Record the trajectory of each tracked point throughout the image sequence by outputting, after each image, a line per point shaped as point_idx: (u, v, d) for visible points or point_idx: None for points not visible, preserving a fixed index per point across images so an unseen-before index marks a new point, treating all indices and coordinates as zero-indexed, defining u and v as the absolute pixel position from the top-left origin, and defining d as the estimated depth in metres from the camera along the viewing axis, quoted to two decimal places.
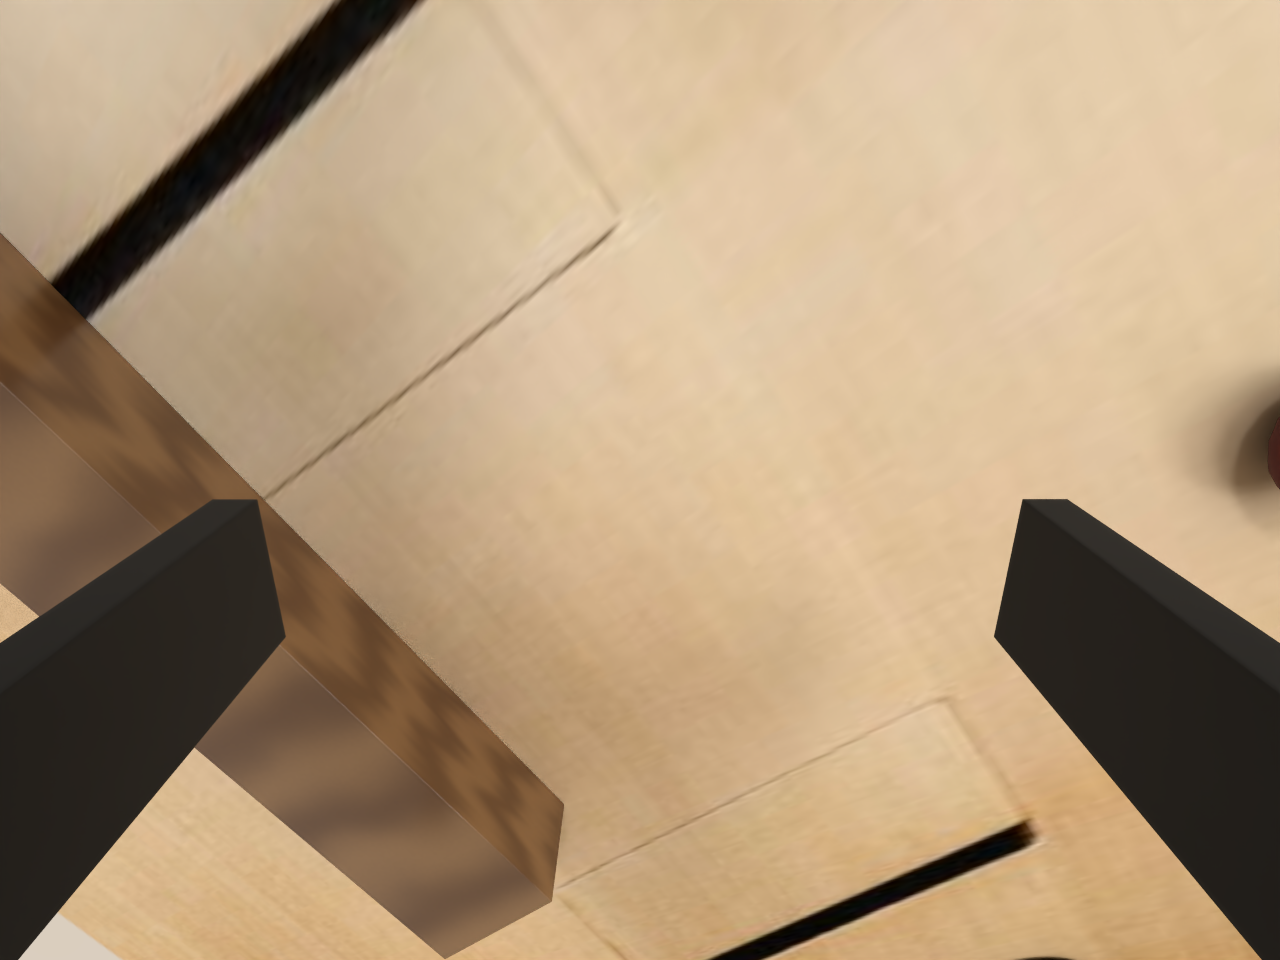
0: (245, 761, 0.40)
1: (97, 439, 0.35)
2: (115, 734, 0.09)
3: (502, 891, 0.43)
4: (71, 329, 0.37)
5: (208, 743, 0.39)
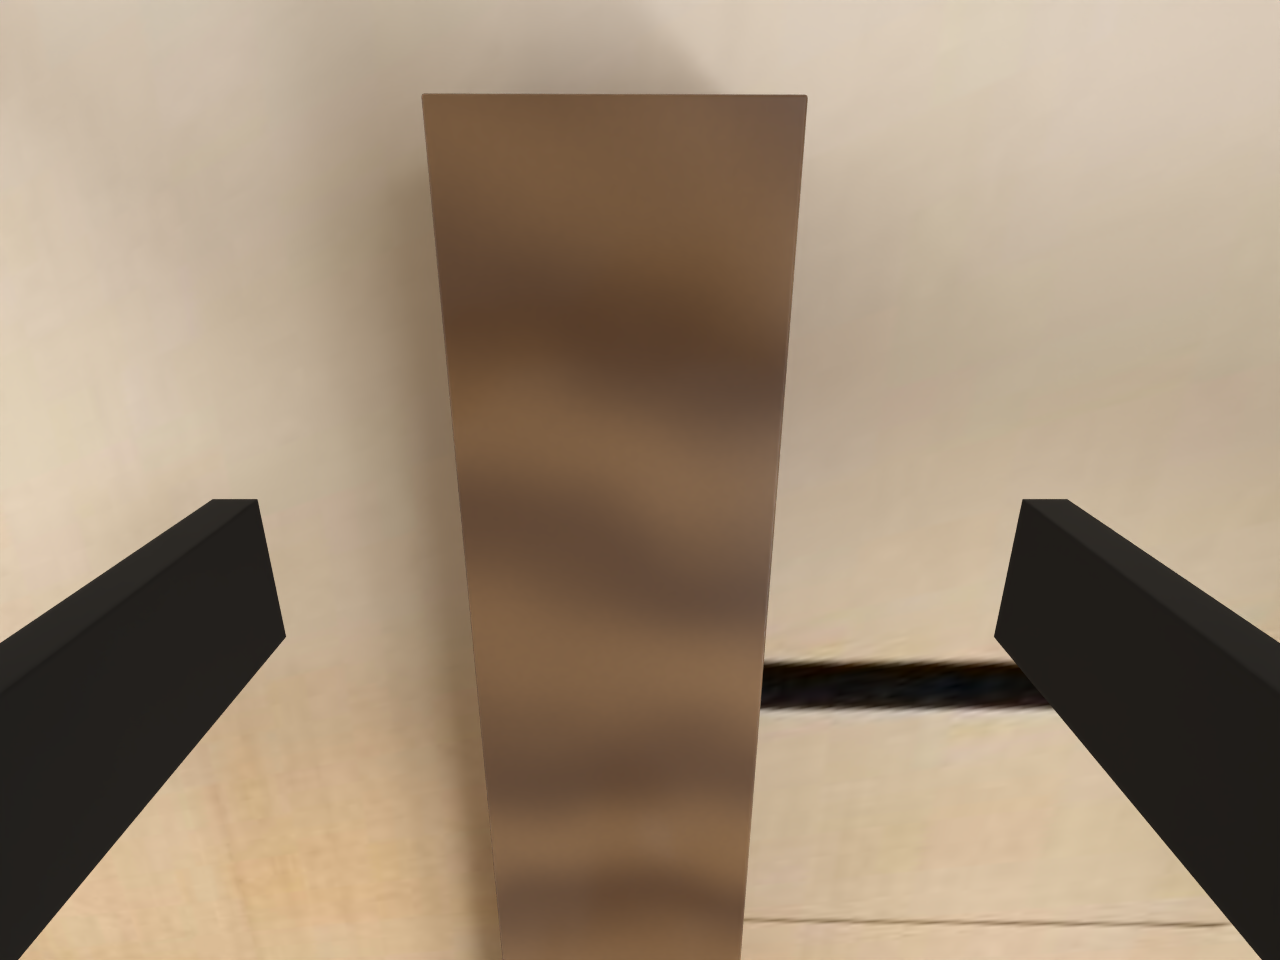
0: None
1: None
2: (115, 733, 0.09)
3: None
4: None
5: None
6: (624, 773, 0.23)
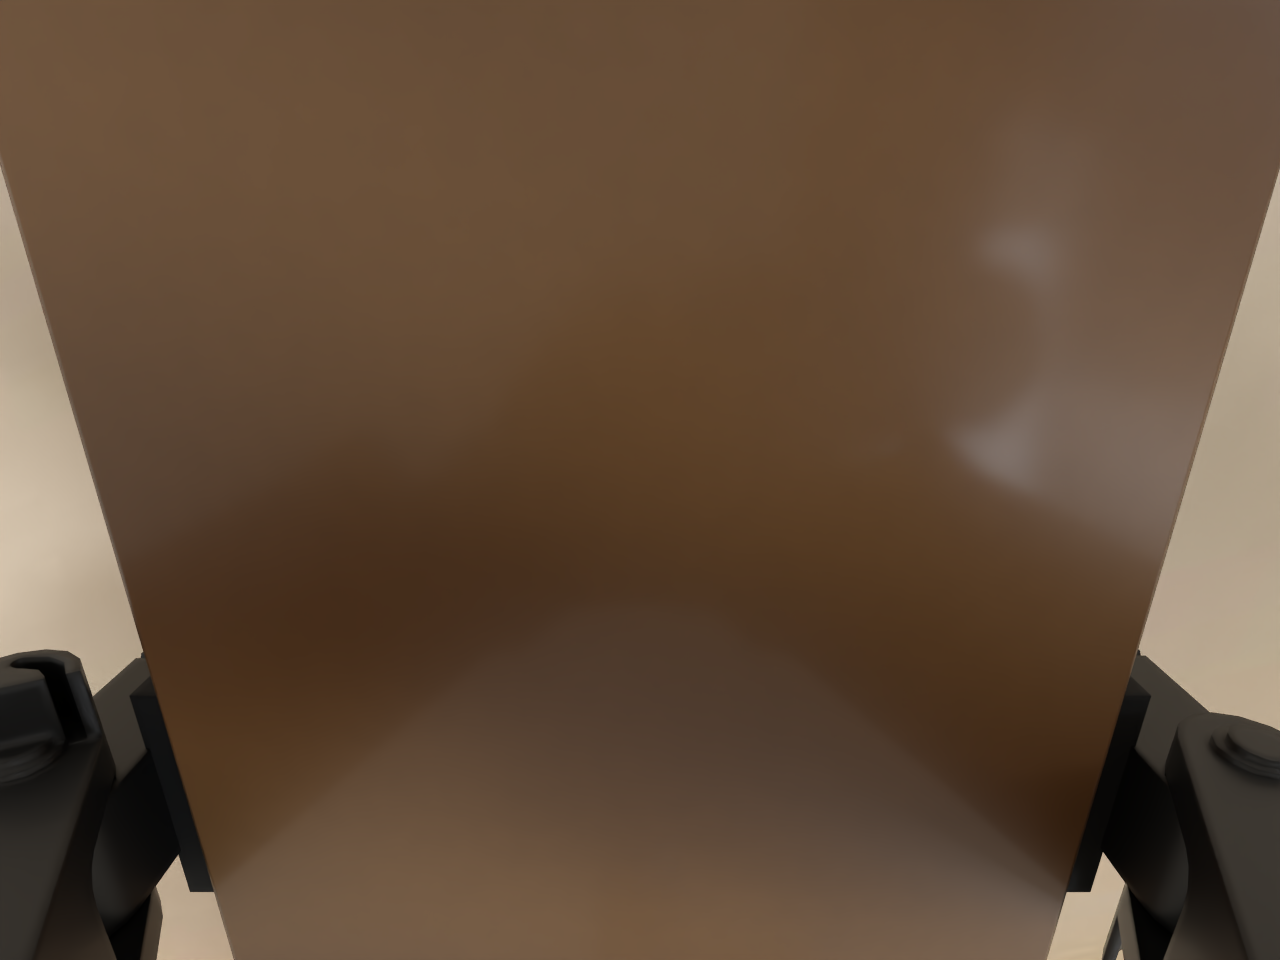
0: None
1: None
2: None
3: None
4: None
5: None
6: None
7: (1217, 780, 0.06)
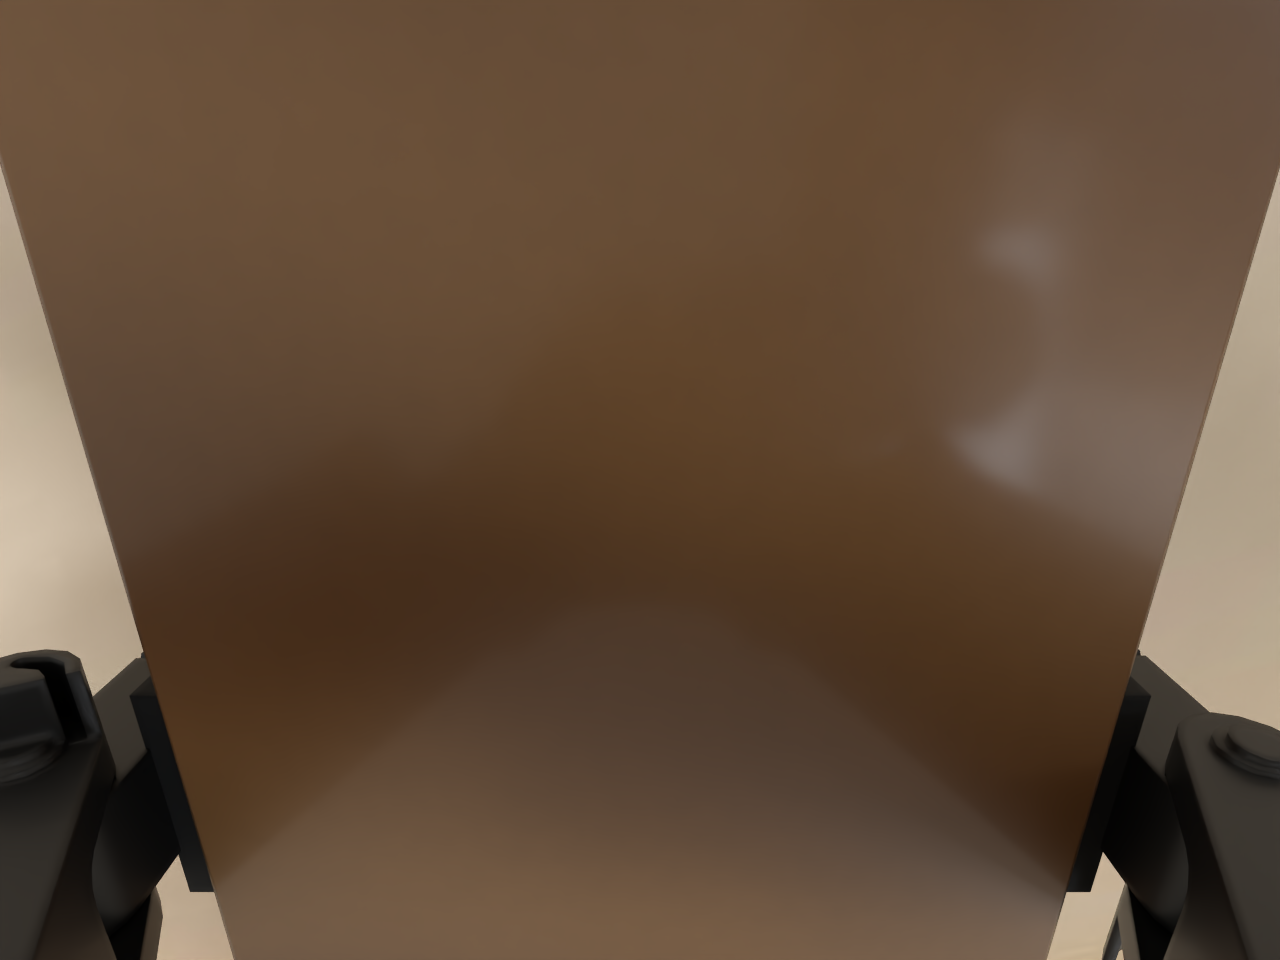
0: None
1: None
2: None
3: None
4: None
5: None
6: None
7: (1216, 780, 0.06)
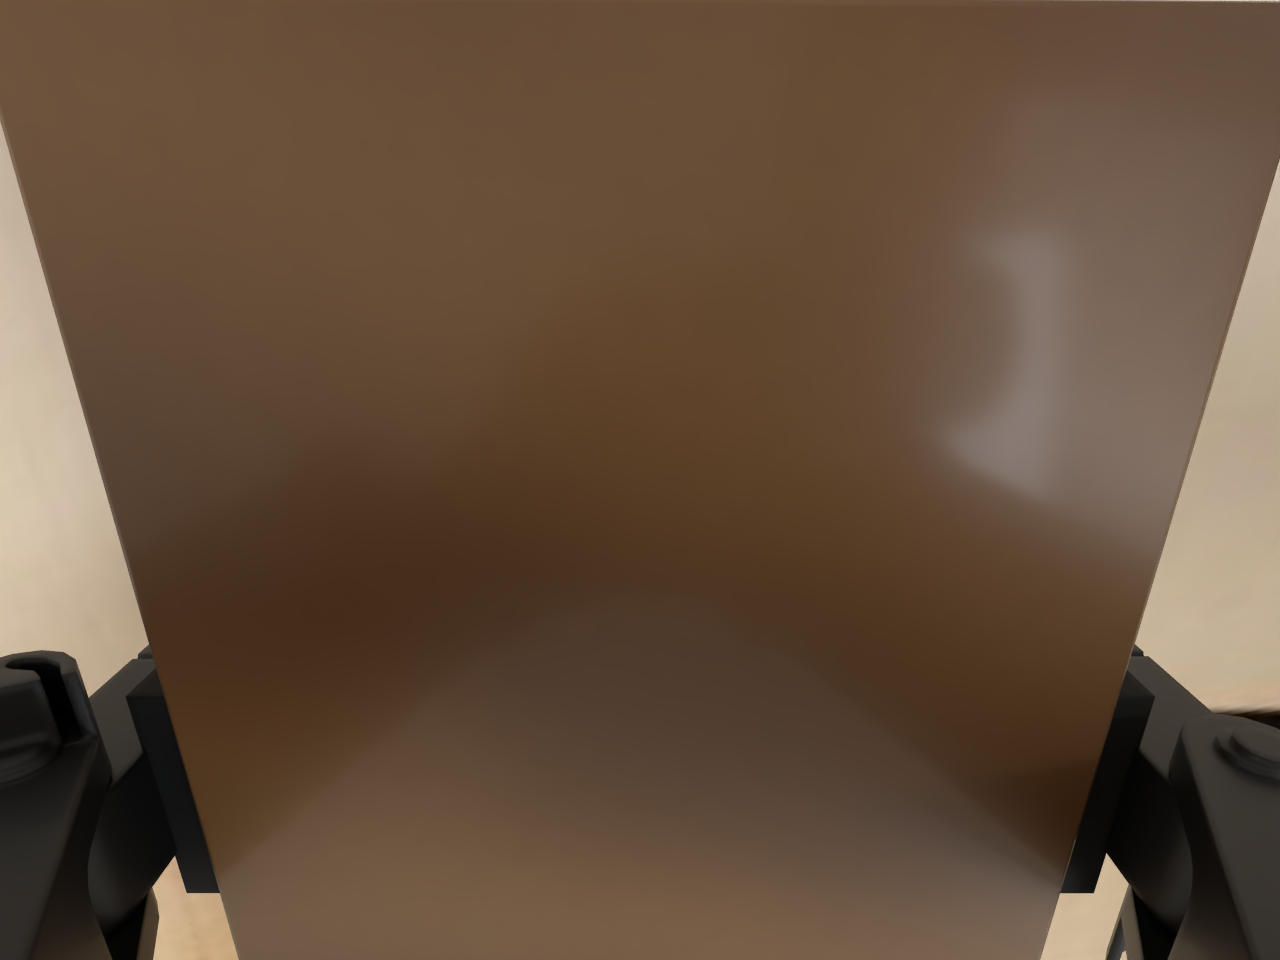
0: None
1: None
2: None
3: None
4: None
5: None
6: None
7: (1220, 781, 0.06)
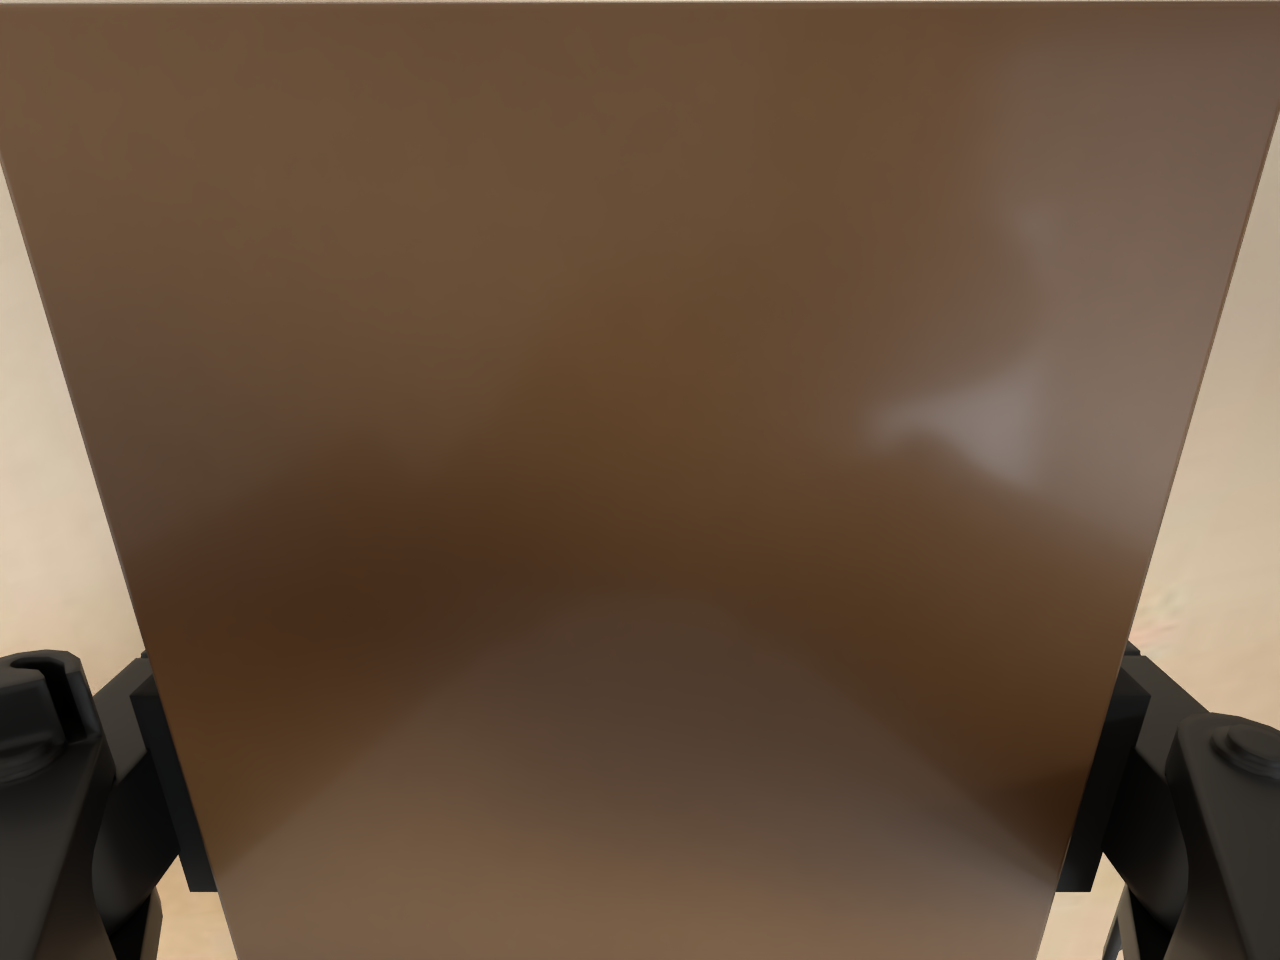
0: None
1: None
2: None
3: None
4: None
5: None
6: None
7: (1217, 780, 0.06)
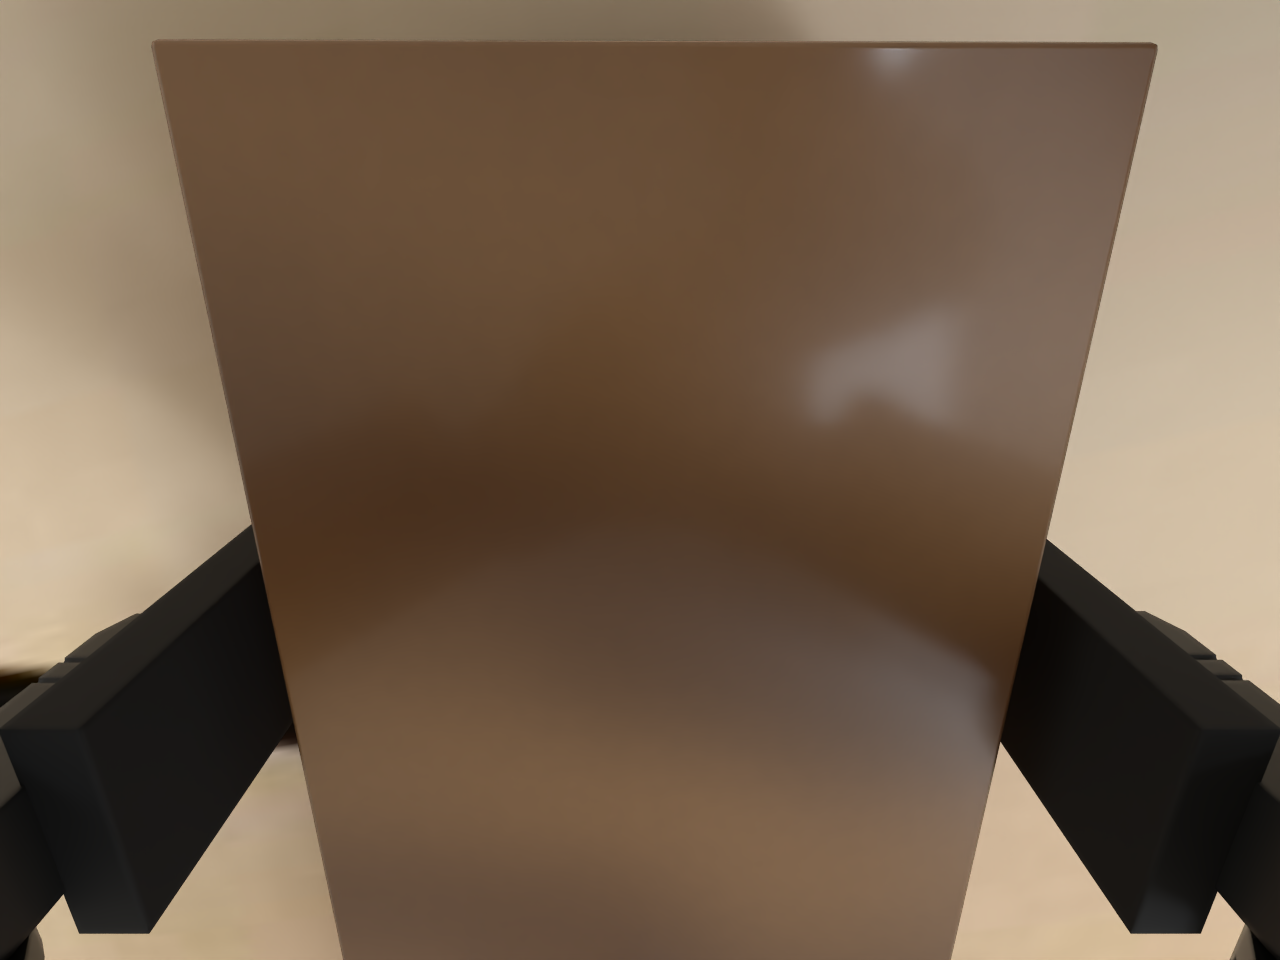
0: None
1: None
2: (247, 690, 0.09)
3: None
4: None
5: None
6: None
7: None
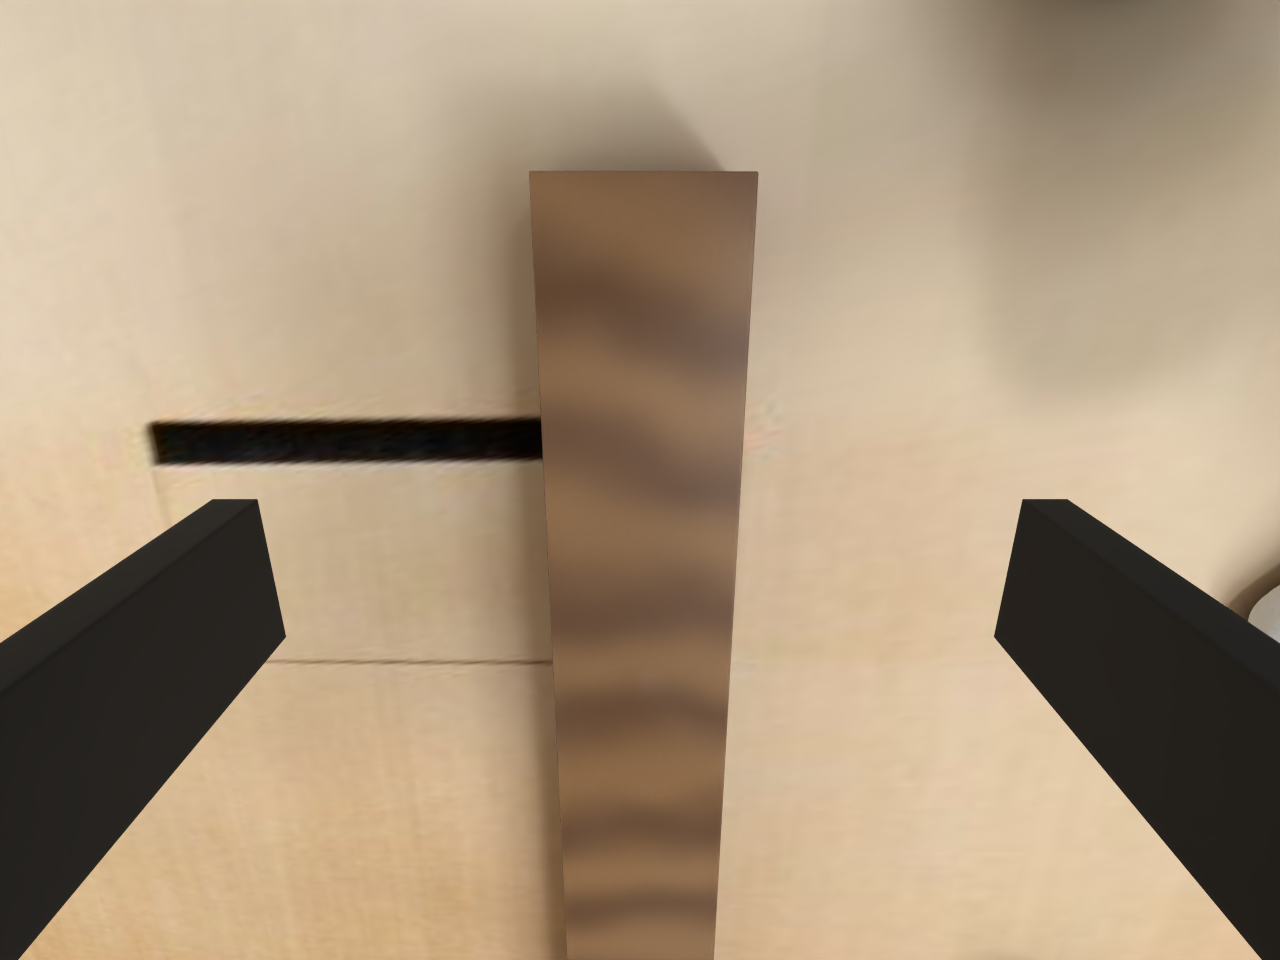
0: None
1: None
2: (115, 733, 0.09)
3: None
4: None
5: None
6: (645, 615, 0.34)
7: None
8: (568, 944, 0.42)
